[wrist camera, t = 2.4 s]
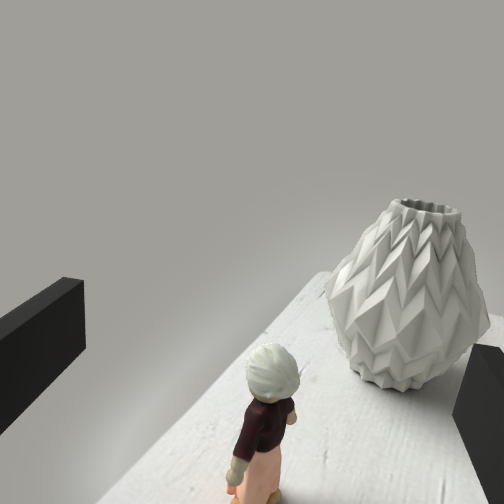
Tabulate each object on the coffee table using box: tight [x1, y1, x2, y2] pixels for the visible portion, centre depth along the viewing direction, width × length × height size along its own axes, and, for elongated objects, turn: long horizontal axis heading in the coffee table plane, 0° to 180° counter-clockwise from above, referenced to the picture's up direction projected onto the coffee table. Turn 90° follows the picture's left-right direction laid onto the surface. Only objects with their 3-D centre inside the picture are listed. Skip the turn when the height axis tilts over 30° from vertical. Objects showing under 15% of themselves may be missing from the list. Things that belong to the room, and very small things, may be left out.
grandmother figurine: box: [226, 343, 300, 504], centre depth 28 cm, size 8×4×13 cm, turn 159°
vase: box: [324, 198, 490, 392], centre depth 45 cm, size 16×16×18 cm
